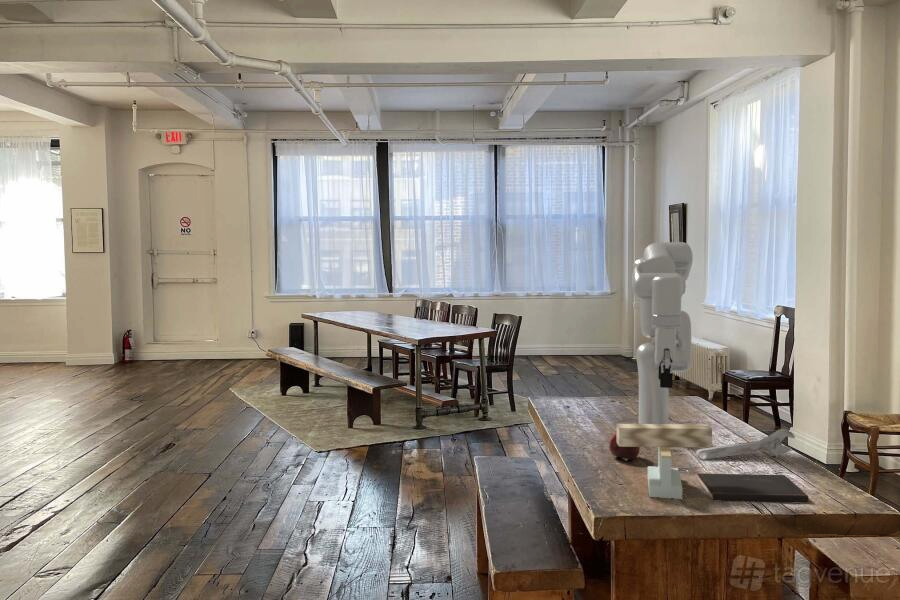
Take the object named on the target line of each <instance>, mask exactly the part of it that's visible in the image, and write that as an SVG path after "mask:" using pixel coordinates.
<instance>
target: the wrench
mask: <svg viewBox="0 0 900 600" xmlns="http://www.w3.org/2000/svg"><path fill="white" fill-rule="evenodd" d="M786 438H792V439H796V435H794V433H793V432H792V431H789V430H787V429H785V428H784V429H783V428H781V429H778V430H775V431H774V432H773V433H771V434H769V435H768V436H765V437H763V438H761V439H760V440H755V441H748V442H742V443H741V442H740V443H733V444H727V445H726V444H725V445H720V446H712V447H703V448H699V449H697V450H696V452H695V456H696V458H697V459H699V460H711V459H712V460H713V459H717V458H723V457H729V456H731V457H732V456H736V455H743V454H748V453H754V452H755V453H756V452H766V453H769V454H771V455H770V457H772V456H774V457H775V456H776V457H775V458H779V457H778V456H780V455H784V454H786V453H788V452H790V451H791V450H792V447H790V446H787V445H783V443H782V442H783V441H784V440H785V439H786ZM702 452H704V455H703V456H702V457H700V453H702Z"/></svg>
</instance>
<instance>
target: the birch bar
mask: <svg viewBox="0 0 900 600" xmlns="http://www.w3.org/2000/svg"><path fill="white" fill-rule="evenodd" d="M616 433H617V435H616V442H617V444H618V445H619V447H641V448H651V447H652V448H658V447H669V448H711V447H713V428H712V427H711V426H710V425H709V424H706V423H705V424H703V423H701V424H697V423H695V424H693V423H691V424H690V423H688V424H686V423H685V424H684V423H682V424H681V423H680V424H679V423H677V424H639V423H616Z"/></svg>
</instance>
